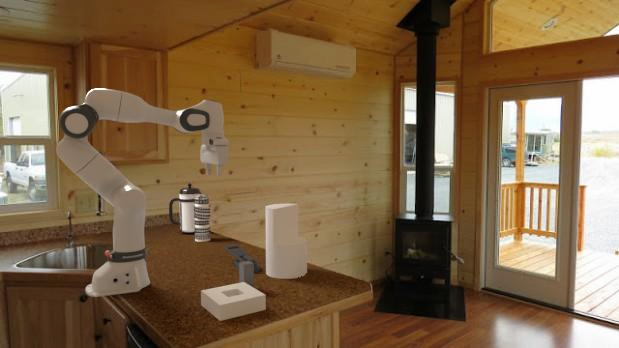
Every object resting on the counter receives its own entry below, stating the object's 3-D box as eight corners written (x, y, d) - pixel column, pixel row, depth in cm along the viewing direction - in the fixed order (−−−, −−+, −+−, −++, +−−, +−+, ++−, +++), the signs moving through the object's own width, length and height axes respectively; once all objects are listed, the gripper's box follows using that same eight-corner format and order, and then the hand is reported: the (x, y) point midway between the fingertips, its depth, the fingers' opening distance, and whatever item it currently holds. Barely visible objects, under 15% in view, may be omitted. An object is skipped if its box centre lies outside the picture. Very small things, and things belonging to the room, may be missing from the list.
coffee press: (196, 228, 276) (195, 181, 274) (207, 233, 264) (206, 183, 262) (169, 232, 265) (167, 183, 263) (180, 237, 253) (178, 185, 251)
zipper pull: (239, 244, 209) (263, 255, 188) (240, 257, 209) (263, 271, 188) (221, 246, 204) (244, 258, 183) (222, 260, 204) (244, 274, 183)
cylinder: (257, 274, 183) (256, 207, 181) (282, 264, 198) (282, 202, 196) (291, 281, 174) (290, 211, 172) (314, 270, 188) (314, 205, 186)
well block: (220, 321, 136) (219, 305, 136) (201, 305, 149) (200, 290, 149) (265, 309, 145) (265, 294, 145) (244, 295, 158) (243, 281, 158)
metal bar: (244, 291, 163) (243, 264, 162) (239, 288, 166) (239, 262, 165) (253, 289, 165) (253, 263, 164) (249, 286, 168) (248, 260, 167)
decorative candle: (196, 238, 251) (195, 194, 249) (213, 238, 250) (212, 194, 248) (191, 241, 242) (190, 196, 240) (208, 241, 241) (207, 196, 239)
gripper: (196, 140, 184) (197, 173, 185) (215, 140, 167) (216, 177, 168) (210, 140, 188) (211, 173, 189) (231, 140, 171) (231, 176, 172)
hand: (213, 175), depth 178 cm, fingers open, 8 cm apart
